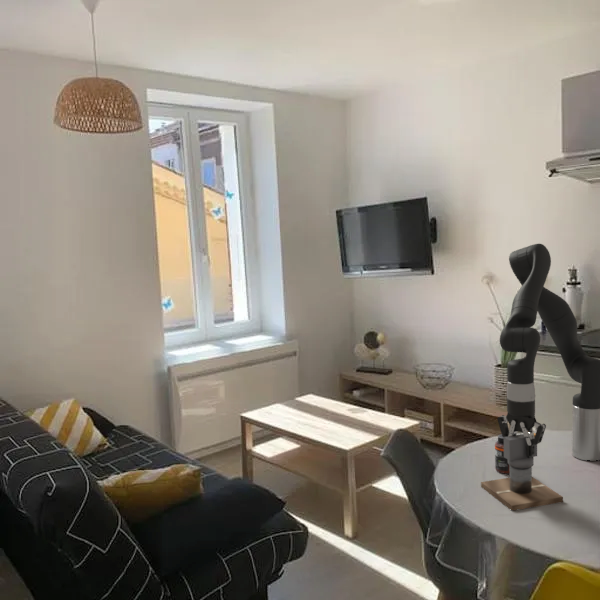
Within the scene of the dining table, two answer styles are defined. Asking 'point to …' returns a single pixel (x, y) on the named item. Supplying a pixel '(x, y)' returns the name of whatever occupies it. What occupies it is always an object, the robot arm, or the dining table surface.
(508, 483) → the base
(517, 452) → the wing cap
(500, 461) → the supplement bottle
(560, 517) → the dining table surface
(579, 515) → the dining table surface
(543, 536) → the dining table surface
